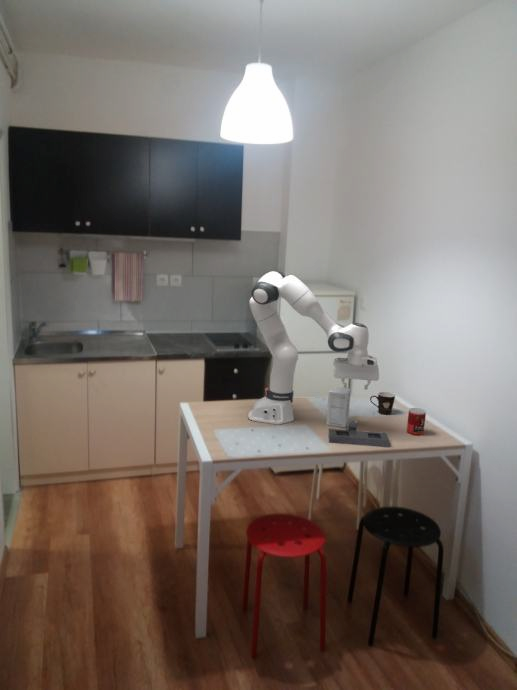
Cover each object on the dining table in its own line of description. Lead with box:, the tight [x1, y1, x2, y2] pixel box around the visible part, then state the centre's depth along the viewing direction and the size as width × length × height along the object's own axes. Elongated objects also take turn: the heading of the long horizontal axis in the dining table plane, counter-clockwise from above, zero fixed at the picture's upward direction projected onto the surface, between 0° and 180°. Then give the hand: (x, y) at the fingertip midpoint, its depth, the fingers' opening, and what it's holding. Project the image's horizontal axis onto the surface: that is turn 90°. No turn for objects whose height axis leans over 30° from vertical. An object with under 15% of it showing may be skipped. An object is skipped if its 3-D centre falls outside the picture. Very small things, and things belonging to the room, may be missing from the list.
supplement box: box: [326, 386, 352, 428], centre depth 275 cm, size 10×9×17 cm
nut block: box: [346, 418, 358, 431], centre depth 264 cm, size 4×4×6 cm
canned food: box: [406, 407, 427, 437], centre depth 268 cm, size 8×8×11 cm
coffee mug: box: [369, 391, 396, 416], centre depth 295 cm, size 12×9×10 cm
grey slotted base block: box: [327, 428, 390, 448], centre depth 256 cm, size 26×9×3 cm, turn 85°
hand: (355, 388), depth 261 cm, fingers open, 8 cm apart
